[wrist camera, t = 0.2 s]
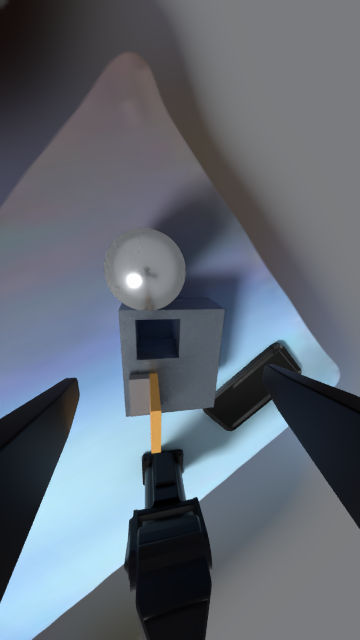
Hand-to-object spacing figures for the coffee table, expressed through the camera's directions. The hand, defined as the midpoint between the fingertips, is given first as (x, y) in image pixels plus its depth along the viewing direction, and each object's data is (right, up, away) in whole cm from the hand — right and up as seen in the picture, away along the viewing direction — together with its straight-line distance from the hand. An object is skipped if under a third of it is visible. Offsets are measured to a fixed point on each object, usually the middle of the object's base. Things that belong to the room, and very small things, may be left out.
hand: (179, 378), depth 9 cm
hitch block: (-2, 0, +15) cm, 15 cm away
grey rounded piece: (-4, +9, +12) cm, 15 cm away
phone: (+11, -7, +20) cm, 24 cm away
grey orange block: (-3, -5, +11) cm, 12 cm away
